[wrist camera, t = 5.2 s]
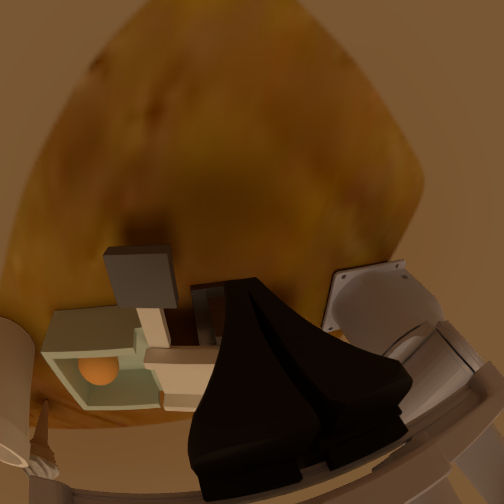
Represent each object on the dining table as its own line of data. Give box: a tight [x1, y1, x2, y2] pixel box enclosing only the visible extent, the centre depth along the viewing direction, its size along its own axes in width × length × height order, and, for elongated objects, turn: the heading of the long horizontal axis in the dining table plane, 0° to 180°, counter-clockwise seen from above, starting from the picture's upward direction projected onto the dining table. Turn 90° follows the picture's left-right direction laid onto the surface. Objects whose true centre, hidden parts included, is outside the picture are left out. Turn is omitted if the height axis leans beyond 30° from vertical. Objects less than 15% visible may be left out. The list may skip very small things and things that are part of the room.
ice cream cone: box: [22, 400, 60, 480], centre depth 20 cm, size 6×6×15 cm
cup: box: [41, 305, 163, 410], centre depth 21 cm, size 9×9×5 cm
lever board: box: [103, 245, 220, 412], centre depth 20 cm, size 14×15×5 cm
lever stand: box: [190, 281, 226, 347], centre depth 24 cm, size 4×11×6 cm, turn 179°
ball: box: [78, 356, 119, 385], centre depth 21 cm, size 4×4×4 cm
